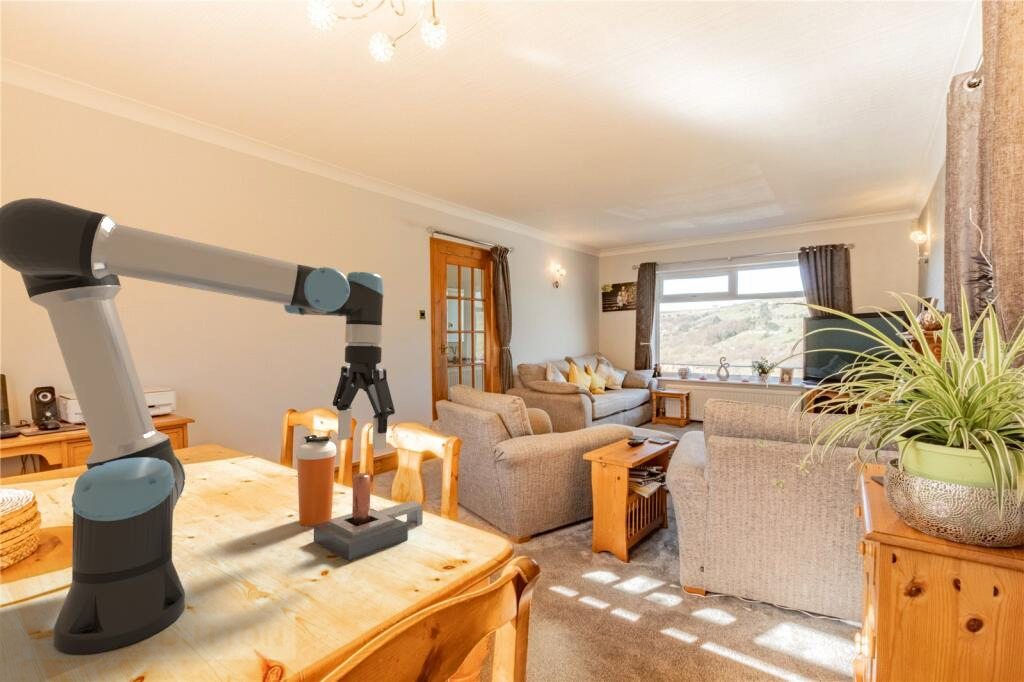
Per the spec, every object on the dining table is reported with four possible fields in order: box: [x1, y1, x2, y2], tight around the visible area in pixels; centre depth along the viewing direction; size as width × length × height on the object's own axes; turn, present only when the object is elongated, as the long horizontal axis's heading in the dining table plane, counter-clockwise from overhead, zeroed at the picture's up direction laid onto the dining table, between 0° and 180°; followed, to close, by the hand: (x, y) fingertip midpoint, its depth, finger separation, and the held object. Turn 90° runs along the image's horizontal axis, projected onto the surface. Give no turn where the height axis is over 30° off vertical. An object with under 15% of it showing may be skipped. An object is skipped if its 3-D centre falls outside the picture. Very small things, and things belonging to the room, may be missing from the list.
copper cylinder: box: [351, 472, 372, 526], centre depth 102 cm, size 4×4×14 cm
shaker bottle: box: [295, 434, 337, 527], centre depth 113 cm, size 9×9×20 cm
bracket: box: [327, 500, 424, 538], centre depth 105 cm, size 20×10×4 cm, turn 139°
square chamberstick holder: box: [313, 507, 409, 563], centre depth 102 cm, size 14×14×4 cm
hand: (360, 444), depth 102 cm, fingers open, 13 cm apart
